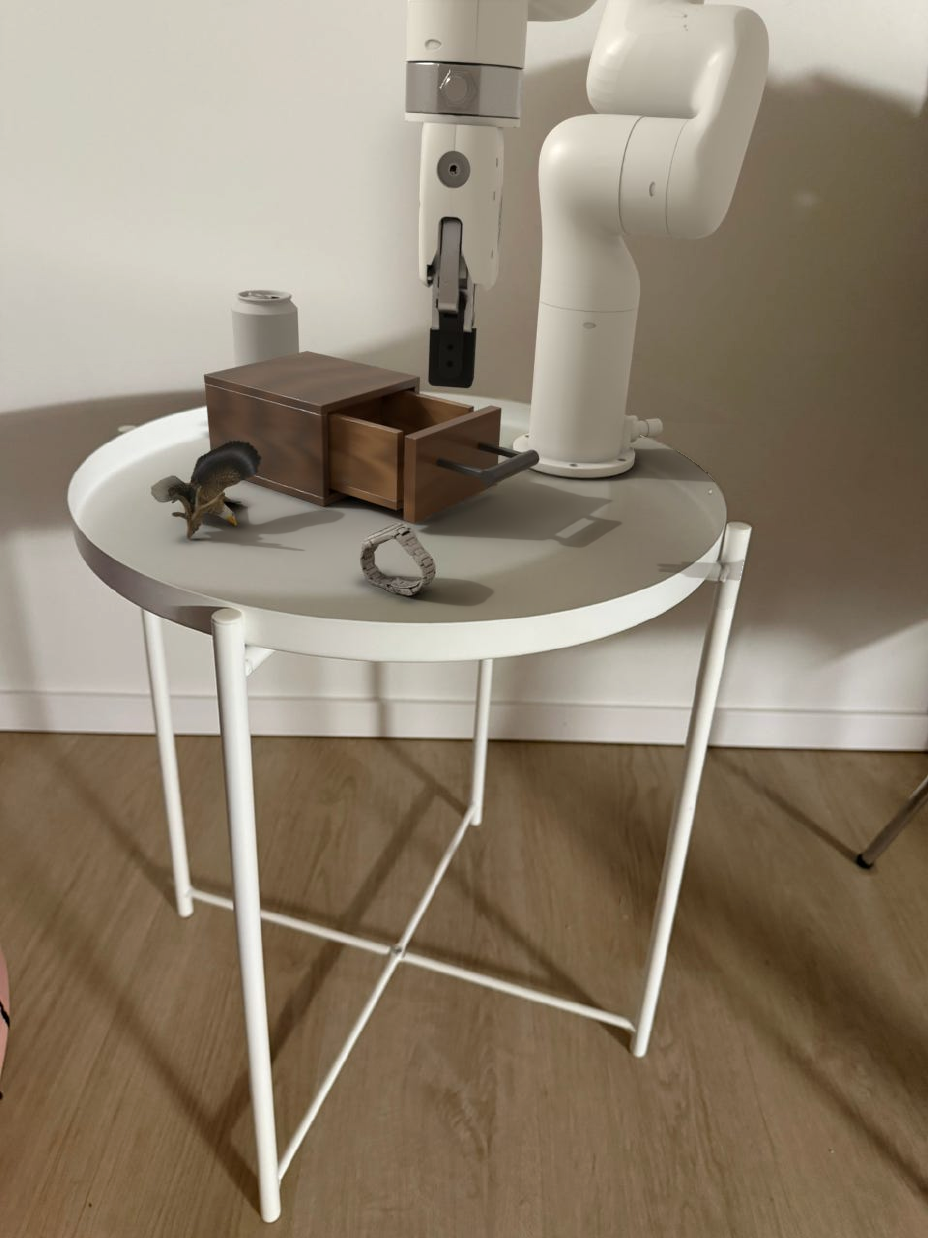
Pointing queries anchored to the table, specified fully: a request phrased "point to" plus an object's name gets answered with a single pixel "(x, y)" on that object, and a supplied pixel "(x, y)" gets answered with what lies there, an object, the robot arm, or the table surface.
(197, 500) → the eagle figurine
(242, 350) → the can
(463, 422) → the drawer
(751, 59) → the robot arm
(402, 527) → the wristwatch
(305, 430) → the cabinet
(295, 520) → the table surface
